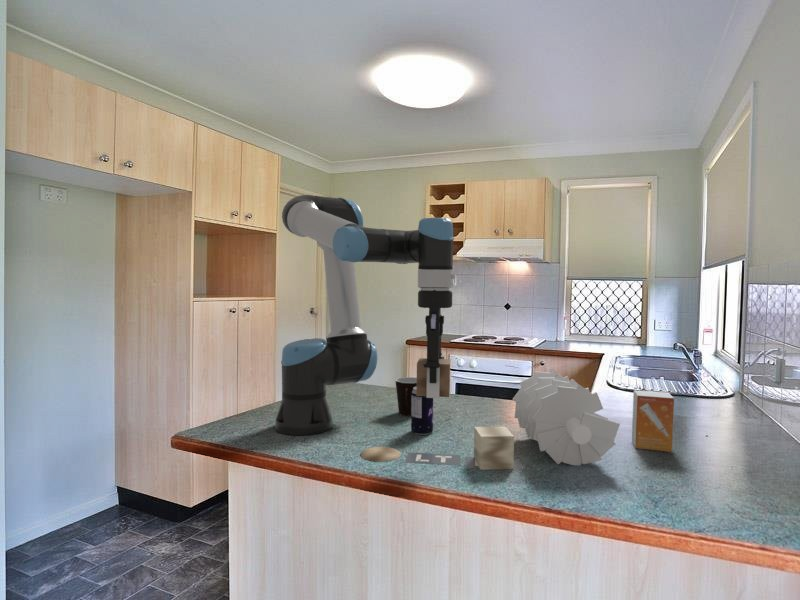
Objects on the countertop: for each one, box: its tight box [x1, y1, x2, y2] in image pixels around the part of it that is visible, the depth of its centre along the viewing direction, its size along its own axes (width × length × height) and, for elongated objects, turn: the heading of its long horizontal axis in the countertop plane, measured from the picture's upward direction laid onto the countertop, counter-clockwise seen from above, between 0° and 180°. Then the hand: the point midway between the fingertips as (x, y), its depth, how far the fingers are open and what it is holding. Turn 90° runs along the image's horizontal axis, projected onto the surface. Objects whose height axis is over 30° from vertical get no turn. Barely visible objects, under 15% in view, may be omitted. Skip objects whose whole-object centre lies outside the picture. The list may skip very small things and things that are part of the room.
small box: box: [631, 389, 675, 453], centre depth 122 cm, size 8×6×13 cm
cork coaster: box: [360, 446, 402, 463], centre depth 114 cm, size 9×9×1 cm
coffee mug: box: [395, 376, 417, 417], centre depth 149 cm, size 12×9×10 cm
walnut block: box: [416, 357, 451, 398], centre depth 111 cm, size 7×7×7 cm
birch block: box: [473, 426, 515, 471], centre depth 109 cm, size 7×7×7 cm
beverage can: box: [410, 386, 434, 436], centre depth 131 cm, size 6×6×12 cm
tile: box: [404, 451, 462, 467], centre depth 112 cm, size 12×6×1 cm, turn 83°
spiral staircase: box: [512, 369, 621, 466], centre depth 118 cm, size 18×18×25 cm
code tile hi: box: [464, 456, 524, 472], centre depth 109 cm, size 12×6×1 cm, turn 83°
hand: (433, 393), depth 111 cm, fingers closed on walnut block, 7 cm apart
